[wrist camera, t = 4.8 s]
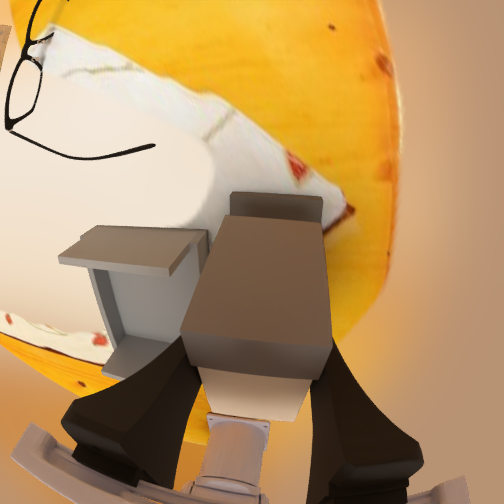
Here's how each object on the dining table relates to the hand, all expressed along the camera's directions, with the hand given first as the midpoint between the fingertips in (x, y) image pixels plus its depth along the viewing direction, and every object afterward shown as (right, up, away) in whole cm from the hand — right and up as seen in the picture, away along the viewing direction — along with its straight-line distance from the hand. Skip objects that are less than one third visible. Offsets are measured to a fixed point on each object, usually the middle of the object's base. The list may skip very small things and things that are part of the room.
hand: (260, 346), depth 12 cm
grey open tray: (-9, +1, +12) cm, 15 cm away
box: (+1, +3, +4) cm, 5 cm away
